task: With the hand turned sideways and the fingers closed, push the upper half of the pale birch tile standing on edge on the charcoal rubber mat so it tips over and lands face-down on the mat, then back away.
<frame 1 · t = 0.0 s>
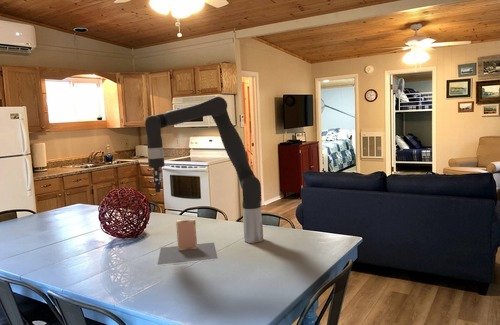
hand: (158, 190, 193), 29 cm above the table, tool pointing down, fingers open, 8 cm apart
rubber mat: (187, 254, 186), on the table
birch tile: (187, 248, 192), point 1 cm above the table, touching rubber mat
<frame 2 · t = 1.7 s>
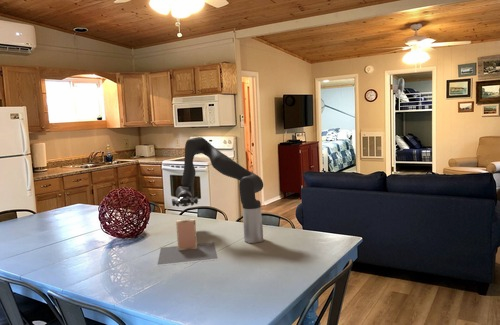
hand: (185, 204, 202), 20 cm above the table, tool horizontal, fingers open, 6 cm apart
nothing on the table moved.
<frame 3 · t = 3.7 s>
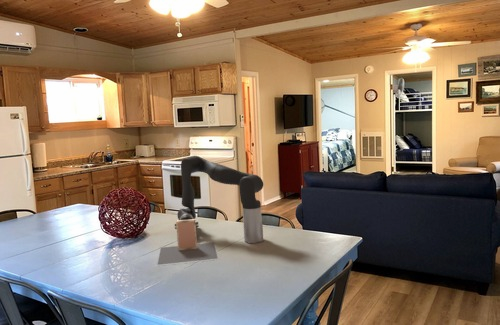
hand: (186, 229, 201), 8 cm above the table, tool horizontal, fingers closed
nothing on the table moved.
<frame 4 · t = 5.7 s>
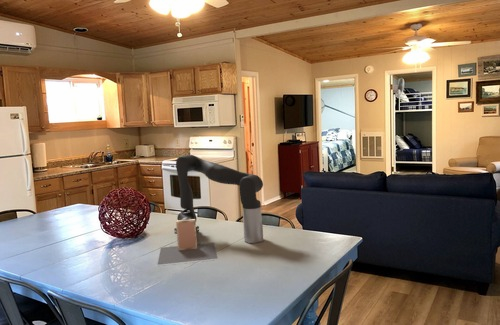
hand: (186, 234, 192), 8 cm above the table, tool horizontal, fingers closed
birch tile: (187, 248, 192), point 1 cm above the table, touching gripper, rubber mat
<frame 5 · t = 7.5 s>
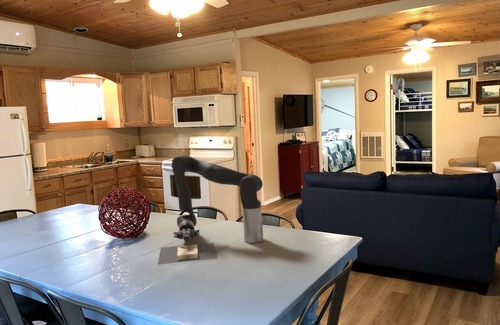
hand: (186, 238, 185), 8 cm above the table, tool horizontal, fingers closed
birch tile: (187, 247, 191), point 2 cm above the table, tilted 90°, touching rubber mat
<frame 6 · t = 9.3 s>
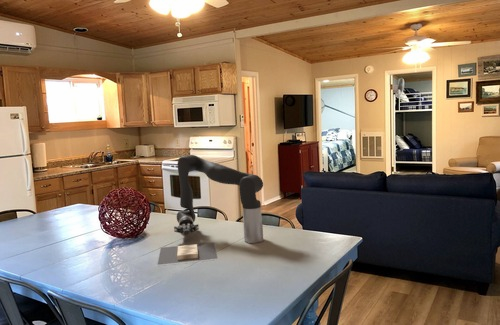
hand: (186, 232, 196), 7 cm above the table, tool horizontal, fingers closed
nothing on the table moved.
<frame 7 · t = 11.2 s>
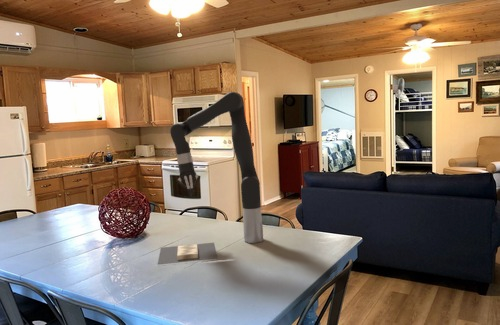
hand: (191, 195, 204), 24 cm above the table, tool pointing down, fingers closed
nothing on the table moved.
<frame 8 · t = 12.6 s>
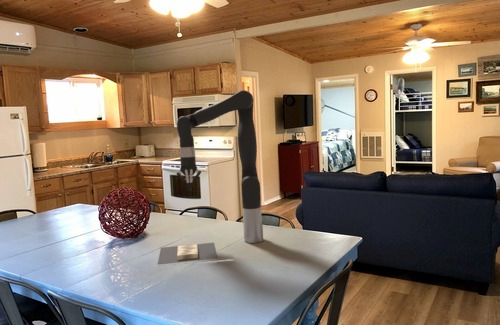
hand: (190, 189, 204), 27 cm above the table, tool pointing down, fingers closed
nothing on the table moved.
at the end: birch tile tilted 90°; birch tile inside the target area on the rubber mat (5.3 cm from its centre), point 1.9 cm above the rubber mat's base; the gripper is holding nothing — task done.
